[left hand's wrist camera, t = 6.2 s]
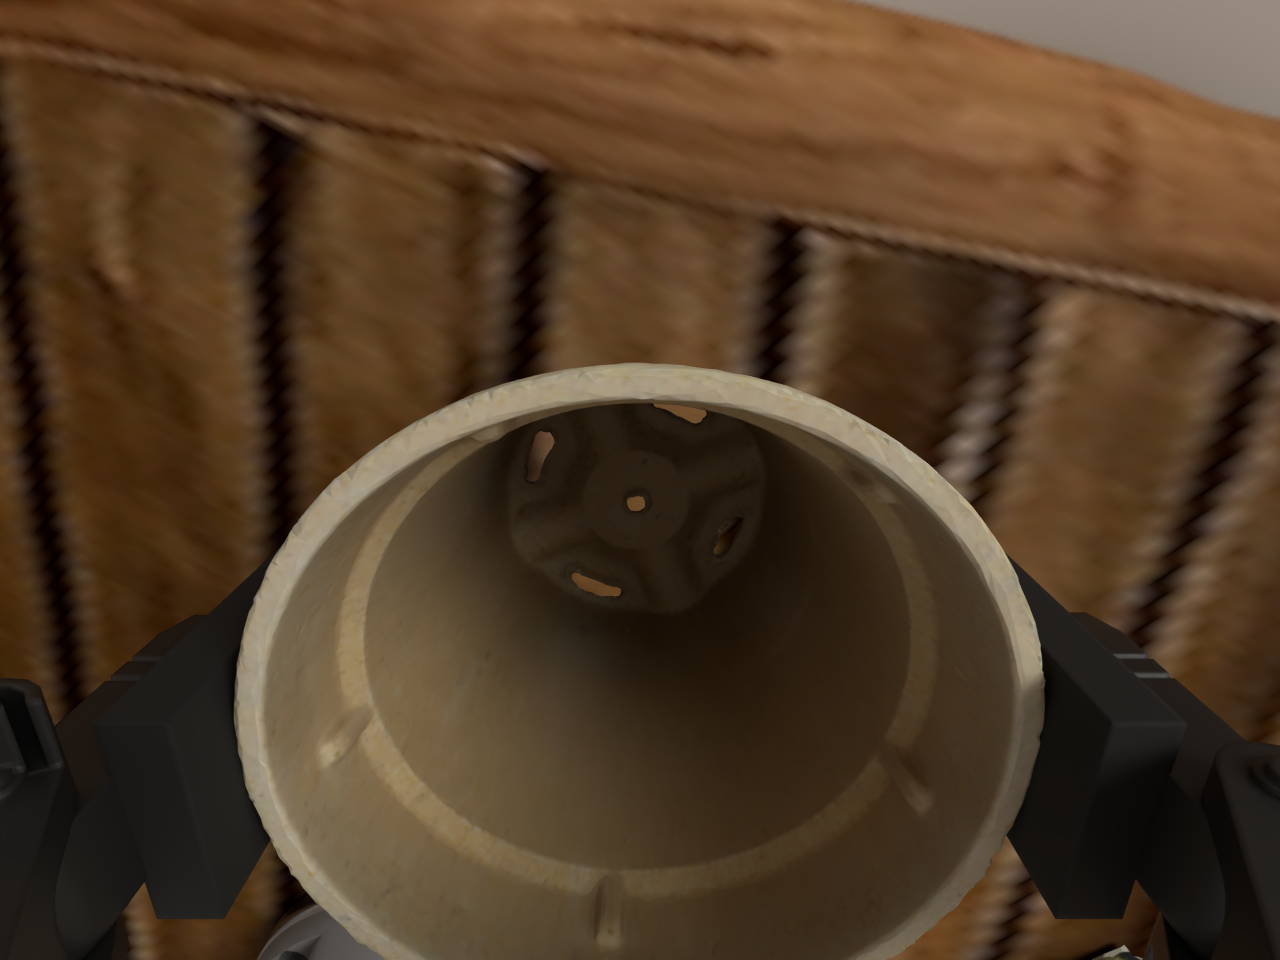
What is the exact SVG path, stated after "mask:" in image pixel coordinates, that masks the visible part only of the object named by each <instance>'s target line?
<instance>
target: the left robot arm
mask: <svg viewBox="0 0 1280 960" xmlns="http://www.w3.org/2000/svg"><path fill="white" fill-rule="evenodd" d="M281 547H282V546H281ZM281 547H280V548H281ZM280 548H279V549H280ZM279 549H278V550H277V551H276V552H275V553H273V554H272V555H271V556H270V557H269V558H268V559H267V560H266V561H265V562H264V563H263V564H262V565H261V566H260V567H259V568H258V569H256V570H255V571H254V572H253V573H252V574H251V575H250V576H249V577H248V578H247V579H246V580H245V581H244V582H243V583H242V584H240V585H239V586H238V587H237V588H236V589H235V590H234V591H233V592H232V593H231V594H230V595H229V596H228V597H227V598H226V599H224V600H223V601H222V602H221V603H220V604H219V605H218V606H217V607H216V608H215V609H214V610H213V611H212V612H211V613H210V614H208V615H194V616H192V617H190V618H188V619H186V620H184V621H182V622H181V623H179V624H177V625H175V626H173V627H171V628H169V629H168V630H166V631H164V632H162V633H160V634H158V635H157V636H156V637H155V638H154V639H153V640H152V641H150V642H149V643H148V644H147V645H146V646H145V647H144V648H143V649H141V650H140V651H139V652H138V653H137V654H136V655H135V656H133V660H132V662H127V663H126V664H124V665H123V666H122V667H121V668H120V669H119V670H118V671H116V672H115V673H114V674H113V675H112V676H111V680H110V681H105V682H104V683H103V684H102V685H101V686H99V687H98V688H97V689H96V690H95V691H94V692H93V693H91V694H90V695H89V696H88V697H87V698H86V699H85V700H84V701H82V702H81V703H80V704H79V705H78V706H77V707H76V708H74V709H73V710H72V711H71V712H70V713H69V714H68V715H67V716H65V717H64V718H63V719H62V720H61V721H60V722H59V723H57V724H56V725H55V726H54V724H53V721H52V718H51V716H50V713H49V710H48V707H47V704H46V702H45V699H44V696H43V693H42V690H41V688H40V686H38V685H36V684H34V683H33V682H31V681H29V680H25V679H10V678H3V679H0V960H126V959H127V952H128V945H129V942H128V935H127V929H126V925H125V922H124V920H123V917H122V914H121V913H122V911H123V910H124V909H125V907H126V906H127V905H128V903H129V902H130V901H131V899H132V898H133V897H134V895H135V894H136V892H137V891H138V890H139V888H140V887H141V886H142V884H143V883H144V882H145V884H146V887H147V890H148V893H149V896H150V899H151V902H152V905H153V908H154V911H155V914H156V917H157V919H224V918H225V916H226V915H227V913H228V911H229V909H230V908H231V906H232V904H233V903H234V901H235V899H236V898H237V896H238V894H239V892H240V891H241V889H242V887H243V886H244V884H245V882H246V880H247V879H248V877H249V875H250V874H251V872H252V870H253V869H254V867H255V865H256V863H257V862H258V860H259V858H260V857H261V855H262V853H263V851H264V850H265V848H266V846H267V845H268V843H269V841H270V840H271V839H270V837H269V834H268V833H267V832H266V830H265V829H264V827H263V824H262V821H261V817H260V815H259V813H258V811H257V810H256V808H255V806H254V804H253V801H252V800H251V799H250V798H249V794H248V790H247V788H246V786H245V781H244V775H243V768H242V762H241V759H240V756H239V754H238V747H237V737H236V731H235V724H234V696H235V681H236V674H237V661H238V657H239V652H240V647H241V640H242V636H243V632H244V628H245V624H246V621H247V617H248V614H249V611H250V609H251V607H252V606H253V604H254V597H255V596H256V594H257V592H258V591H259V589H260V587H261V584H262V582H263V580H264V576H265V573H266V571H267V569H268V567H269V565H270V563H271V561H272V560H273V558H274V557H275V555H276V553H277V552H278V551H279ZM1004 553H1005V552H1004ZM1005 554H1006V553H1005ZM1006 556H1007V558H1008V560H1009V561H1010V563H1011V565H1012V567H1013V569H1014V571H1015V572H1016V574H1017V576H1018V580H1019V584H1020V586H1021V589H1022V591H1023V593H1024V596H1025V598H1026V600H1027V603H1028V605H1029V608H1030V610H1031V613H1032V615H1033V618H1034V620H1035V624H1036V628H1037V633H1038V638H1039V641H1040V644H1041V647H1040V650H1041V657H1042V671H1043V676H1044V678H1045V685H1044V694H1045V712H1044V726H1043V730H1042V732H1041V734H1040V747H1039V750H1038V754H1037V757H1036V761H1035V764H1034V767H1033V772H1032V776H1031V780H1030V784H1029V787H1028V788H1027V792H1026V796H1025V799H1024V801H1023V804H1022V806H1021V808H1020V810H1019V812H1018V814H1017V816H1016V818H1015V821H1014V825H1013V826H1012V828H1011V829H1010V830H1009V831H1008V833H1007V837H1008V839H1009V840H1010V842H1011V844H1012V845H1013V847H1014V849H1015V851H1016V852H1017V854H1018V856H1019V857H1020V859H1021V861H1022V862H1023V864H1024V866H1025V868H1026V869H1027V871H1028V873H1029V874H1030V876H1031V878H1032V880H1033V881H1034V883H1035V885H1036V886H1037V888H1038V890H1039V891H1040V893H1041V895H1042V897H1043V898H1044V900H1045V902H1046V903H1047V905H1048V907H1049V909H1050V910H1051V912H1052V914H1053V915H1054V917H1055V919H1122V918H1123V915H1124V912H1125V909H1126V906H1127V903H1128V900H1129V897H1130V894H1131V891H1132V888H1133V885H1134V882H1135V879H1136V880H1137V881H1138V882H1139V884H1140V885H1141V886H1142V888H1143V889H1144V890H1145V892H1146V893H1147V895H1148V896H1149V897H1150V899H1151V900H1152V901H1153V903H1154V904H1155V905H1156V907H1157V908H1158V909H1159V914H1158V917H1157V920H1156V922H1155V925H1154V928H1153V931H1152V934H1151V936H1150V939H1149V942H1148V945H1147V948H1146V950H1145V953H1144V956H1143V959H1142V960H1280V746H1279V745H1273V744H1267V743H1261V742H1255V741H1246V740H1245V739H1243V738H1242V737H1241V736H1240V735H1239V734H1238V733H1237V732H1236V731H1234V730H1233V729H1232V728H1231V727H1230V726H1229V725H1228V724H1226V723H1225V722H1224V721H1223V720H1222V719H1221V718H1220V717H1218V716H1217V715H1216V714H1215V713H1214V712H1213V711H1212V710H1210V709H1209V708H1208V707H1207V706H1206V705H1205V704H1204V703H1202V702H1201V701H1200V700H1199V699H1198V698H1197V697H1196V696H1194V695H1193V694H1192V693H1191V692H1190V691H1189V690H1188V689H1186V688H1185V687H1184V686H1183V685H1182V684H1181V683H1180V682H1178V681H1177V680H1176V679H1175V678H1170V677H1169V673H1168V672H1167V671H1166V670H1165V669H1164V668H1162V667H1161V666H1160V665H1159V664H1158V663H1157V662H1156V661H1154V660H1153V659H1148V657H1147V654H1146V653H1145V652H1144V651H1143V650H1142V649H1141V648H1140V647H1138V646H1137V645H1136V644H1135V643H1134V642H1133V641H1132V640H1130V639H1129V638H1128V637H1127V636H1126V635H1125V634H1124V633H1122V632H1121V631H1119V630H1117V629H1115V628H1114V627H1112V626H1110V625H1108V624H1106V623H1104V622H1102V621H1101V620H1099V619H1097V618H1095V617H1093V616H1091V615H1089V614H1087V613H1086V612H1068V611H1067V610H1066V609H1065V608H1064V607H1063V606H1061V605H1060V604H1059V603H1058V602H1057V601H1056V600H1055V599H1054V598H1053V597H1052V596H1051V595H1050V594H1049V593H1048V592H1047V591H1045V590H1044V589H1043V588H1042V587H1041V586H1040V585H1039V584H1038V583H1037V582H1036V581H1035V580H1034V579H1033V578H1032V577H1031V576H1029V575H1028V574H1027V573H1026V572H1025V571H1024V570H1023V569H1022V568H1021V567H1020V566H1019V565H1018V564H1017V563H1016V562H1015V561H1013V560H1012V559H1011V558H1010V557H1009V556H1008V555H1007V554H1006ZM257 960H385V959H384V958H383V957H382V956H380V955H379V954H378V953H376V952H374V951H371V950H370V949H369V948H368V947H367V946H366V945H364V944H360V943H358V942H357V941H356V940H355V939H354V938H353V937H352V936H351V934H350V933H349V932H348V931H347V930H346V929H345V928H344V927H343V926H342V925H341V924H340V923H339V922H337V921H336V920H335V919H333V918H332V917H331V916H330V915H329V913H328V912H327V911H326V910H324V909H323V908H322V907H321V906H320V905H318V904H317V903H316V902H315V901H314V900H313V898H312V897H311V896H310V895H307V896H306V897H304V898H302V899H301V900H299V901H298V902H297V903H296V904H294V905H293V906H292V907H291V908H290V909H289V910H287V911H286V912H285V913H284V914H283V915H282V917H281V918H280V919H279V921H278V922H277V923H276V925H275V926H274V928H273V930H272V931H271V933H270V935H269V937H268V939H267V941H266V943H265V945H264V947H263V949H262V951H261V953H260V954H259V956H258V958H257Z"/></svg>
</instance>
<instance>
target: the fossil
mask: <svg viewBox="0 0 1280 960" xmlns="http://www.w3.org/2000/svg"><path fill="white" fill-rule="evenodd" d="M1092 960H1142V958H1139V957H1135V956H1133V955H1132V954H1131V953H1130V952H1129V950H1128V949H1127V948H1126V947H1125V945H1123V946H1121V947H1119V948H1117V949H1114V950H1112V951H1110V952H1108V953H1105V954H1103V955H1101V956H1099V957H1096V958H1094V959H1092Z"/></svg>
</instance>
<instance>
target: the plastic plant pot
mask: <svg viewBox="0 0 1280 960" xmlns="http://www.w3.org/2000/svg"><path fill="white" fill-rule="evenodd" d="M653 403H656V404H671V405H681V406H686V407H692V408H697V409H703V410H705V411H706V413H707V415H706V416H705V417H704V418H703V419H702V421H701V422H699V423H696V424H695V423H691V422H689V421H687V420H685V419H683V418H682V417H679V416H676V415H675V414H673V413H671V412H670V411H667V410H665V409H662V408H656V407H654V405H653ZM539 431H543V432H550V433H551V435H552V436H553V438H554V441H555V443H554V445H553V447H552V449H551V450H550V452H549V453H548V455H547V456H546V458H545V460H544V463H543V466H542V469H541V473H540V476H539V478H538V480H537V481H535V482H530V481H528V480H526V476H527V473H528V470H527V461H528V458H529V454H530V451H531V448H532V445H533V441H534V438H535V436H536V434H537V433H538V432H539ZM636 496H641V497H643V498H644V500H645V507H644V508H643V509H642V510H640V511H631V510H630V509H629V508H628V506H627V499H628V498H631V497H636ZM731 517H741V518H742V519H743V520H742V521H741V523H740V527H739V529H738V532H737V534H736V535H735V537H734V540H733V542H732V544H731V545H730V546H729V548H728V549H727V550H726V551H725V552H723V553H721V554H718V555H715V554H714V548H715V547H716V545H717V542H718V541H719V539H720V534H719V533H718V530H719V529H721V531H722V530H723V529H724V528H725V527H726V526H727V523H728V522H729V521H730V519H731ZM574 572H575V573H579V574H581V575H583V576H586V577H588V578H591V579H594V580H596V581H599V582H601V583H604V584H606V585H609V586H612V587H618V588H620V589H621V594H620V595H619V596H617V597H616V596H599V595H596V594H594V593H592V592H587V591H585V590H583V589H581V588H580V587H578V586H577V585H576V583H575V582H574V581H573V580H572V578H571V575H572V574H573V573H574ZM1040 647H1041V644H1040V641H1039V638H1038V633H1037V628H1036V624H1035V620H1034V618H1033V615H1032V613H1031V610H1030V608H1029V605H1028V603H1027V600H1026V598H1025V596H1024V593H1023V591H1022V589H1021V586H1020V584H1019V580H1018V576H1017V574H1016V572H1015V571H1014V569H1013V567H1012V565H1011V563H1010V561H1009V560H1008V558H1007V556H1006V554H1005V553H1004V551H1003V549H1002V548H1001V546H1000V544H999V543H998V542H997V540H996V539H995V537H994V536H993V534H992V533H991V532H990V530H989V529H988V527H987V526H986V524H985V523H984V522H983V520H982V519H981V518H980V516H979V515H978V514H977V512H976V511H975V510H974V509H973V507H972V506H971V505H970V504H969V503H968V502H967V501H966V500H965V499H964V498H963V497H962V496H961V495H960V494H959V493H958V492H957V491H956V490H955V489H954V488H953V487H952V486H951V485H950V484H949V483H948V482H947V481H946V480H945V479H944V478H942V477H941V476H940V475H939V474H938V473H937V472H936V471H935V470H934V469H933V468H932V467H931V466H930V465H929V464H927V463H926V462H925V461H923V460H922V459H921V458H920V457H918V456H917V455H916V454H914V453H913V452H911V451H910V450H909V449H907V448H906V447H904V446H903V445H902V444H901V443H899V442H898V441H896V440H895V439H893V438H892V437H890V436H889V435H887V434H886V433H884V432H882V431H881V430H879V429H877V428H876V427H874V426H872V425H870V424H869V423H867V422H865V421H863V420H862V419H860V418H858V417H856V416H854V415H852V414H851V413H849V412H847V411H845V410H843V409H841V408H839V407H837V406H835V405H833V404H831V403H829V402H827V401H824V400H822V399H819V398H816V397H814V396H811V395H809V394H806V393H804V392H801V391H799V390H796V389H793V388H791V387H788V386H785V385H782V384H778V383H774V382H770V381H766V380H762V379H759V378H755V377H751V376H746V375H739V374H733V373H729V372H725V371H720V370H715V369H705V368H696V367H690V366H683V365H671V364H649V363H621V364H613V365H599V366H590V367H582V368H573V369H565V370H560V371H555V372H550V373H545V374H540V375H536V376H532V377H528V378H525V379H521V380H517V381H513V382H509V383H505V384H502V385H499V386H496V387H493V388H490V389H487V390H484V391H481V392H478V393H475V394H473V395H470V396H468V397H466V398H464V399H461V400H459V401H457V402H455V403H453V404H450V405H448V406H446V407H444V408H442V409H440V410H438V411H436V412H434V413H432V414H430V415H428V416H426V417H424V418H422V419H420V420H418V421H416V422H414V423H413V424H411V425H409V426H408V427H406V428H404V429H403V430H401V431H399V432H398V433H396V434H395V435H393V436H391V437H390V438H388V439H387V440H385V441H384V442H383V443H381V444H380V445H378V446H377V447H375V448H374V449H373V450H371V451H370V452H368V453H367V454H366V455H365V456H363V457H362V458H361V459H359V460H358V461H357V462H356V463H355V464H353V465H352V466H351V467H350V468H349V469H348V470H346V471H345V472H344V473H342V474H341V475H340V476H338V477H337V478H336V479H334V480H333V481H332V482H331V483H330V484H329V486H328V487H327V488H326V489H325V490H324V491H323V492H322V493H321V494H320V495H319V496H318V497H317V499H316V500H315V501H314V502H313V503H312V504H311V505H310V506H309V508H308V509H307V510H306V512H305V513H304V514H303V515H302V517H301V518H300V519H299V521H298V522H297V523H296V525H295V526H294V527H293V529H292V530H291V532H290V533H289V535H288V537H287V539H286V541H285V542H284V544H283V545H282V547H281V548H280V549H279V551H278V552H277V553H276V555H275V557H274V558H273V560H272V561H271V563H270V565H269V567H268V569H267V571H266V573H265V576H264V580H263V582H262V584H261V587H260V589H259V591H258V592H257V594H256V596H255V597H254V604H253V606H252V607H251V609H250V611H249V614H248V617H247V621H246V624H245V628H244V632H243V636H242V640H241V647H240V652H239V657H238V661H237V674H236V681H235V696H234V724H235V731H236V737H237V747H238V754H239V756H240V759H241V762H242V768H243V775H244V781H245V786H246V788H247V790H248V794H249V798H250V799H251V800H252V801H253V804H254V806H255V808H256V810H257V811H258V813H259V815H260V817H261V821H262V824H263V827H264V829H265V830H266V832H267V833H268V834H269V837H270V839H271V841H272V843H273V846H274V847H275V849H276V851H277V853H278V856H279V858H280V859H281V860H282V861H283V862H284V863H285V864H286V865H287V866H288V867H289V869H290V872H291V874H292V875H293V876H294V877H296V878H297V879H298V880H299V882H300V884H301V885H302V887H303V888H304V889H305V890H306V892H307V893H308V894H309V895H310V896H311V897H312V898H313V900H314V901H315V902H316V903H317V904H318V905H320V906H321V907H322V908H323V909H324V910H326V911H327V912H328V913H329V915H330V916H331V917H332V918H333V919H335V920H336V921H337V922H339V923H340V924H341V925H342V926H343V927H344V928H345V929H346V930H347V931H348V932H349V933H350V934H351V936H352V937H353V938H354V939H355V940H356V941H357V942H358V943H360V944H364V945H366V946H367V947H368V948H369V949H370V950H371V951H374V952H376V953H378V954H379V955H380V956H382V957H383V958H384V959H385V960H888V959H889V958H890V957H892V956H894V955H896V954H898V953H900V952H902V951H904V950H905V948H906V947H908V946H909V945H912V944H914V943H915V941H916V939H918V938H920V936H921V935H922V934H923V933H925V932H926V931H927V930H930V929H932V928H933V927H934V925H935V924H936V923H937V922H938V921H939V920H940V919H941V918H942V917H943V916H945V915H946V914H947V913H948V912H950V911H951V910H953V909H955V908H956V907H957V906H958V904H959V903H960V902H961V900H962V899H963V897H964V896H965V894H966V893H967V892H968V891H969V889H971V888H973V887H974V886H975V884H976V883H977V882H978V881H979V880H980V879H981V878H982V877H984V876H985V872H986V868H987V867H989V866H990V865H991V862H992V857H993V856H994V854H995V853H996V852H997V851H999V850H1001V847H1002V844H1003V841H1004V839H1005V837H1006V835H1007V833H1008V831H1009V830H1010V829H1011V828H1012V826H1013V825H1014V821H1015V818H1016V816H1017V814H1018V812H1019V810H1020V808H1021V806H1022V804H1023V801H1024V799H1025V796H1026V792H1027V788H1028V787H1029V784H1030V780H1031V776H1032V772H1033V767H1034V764H1035V761H1036V757H1037V754H1038V750H1039V747H1040V734H1041V732H1042V730H1043V726H1044V712H1045V694H1044V685H1045V678H1044V676H1043V671H1042V657H1041V650H1040Z"/></svg>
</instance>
